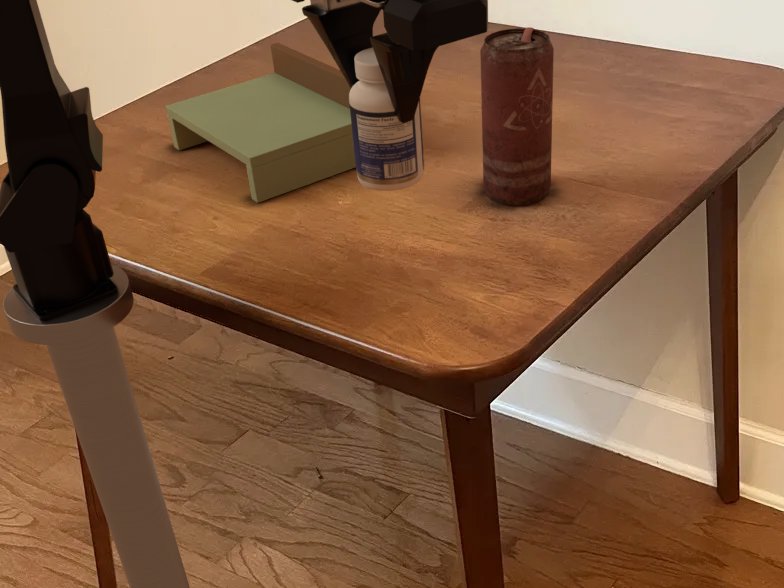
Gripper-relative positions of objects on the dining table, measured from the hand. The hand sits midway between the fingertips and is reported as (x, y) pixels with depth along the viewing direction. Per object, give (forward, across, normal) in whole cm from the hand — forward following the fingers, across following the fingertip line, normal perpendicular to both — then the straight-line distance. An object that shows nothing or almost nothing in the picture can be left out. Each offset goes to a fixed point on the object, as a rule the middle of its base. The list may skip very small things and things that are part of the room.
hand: (385, 110), depth 78 cm
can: (+13, +3, -15) cm, 20 cm away
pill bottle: (+6, 0, 0) cm, 6 cm away
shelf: (+13, +27, -3) cm, 30 cm away
